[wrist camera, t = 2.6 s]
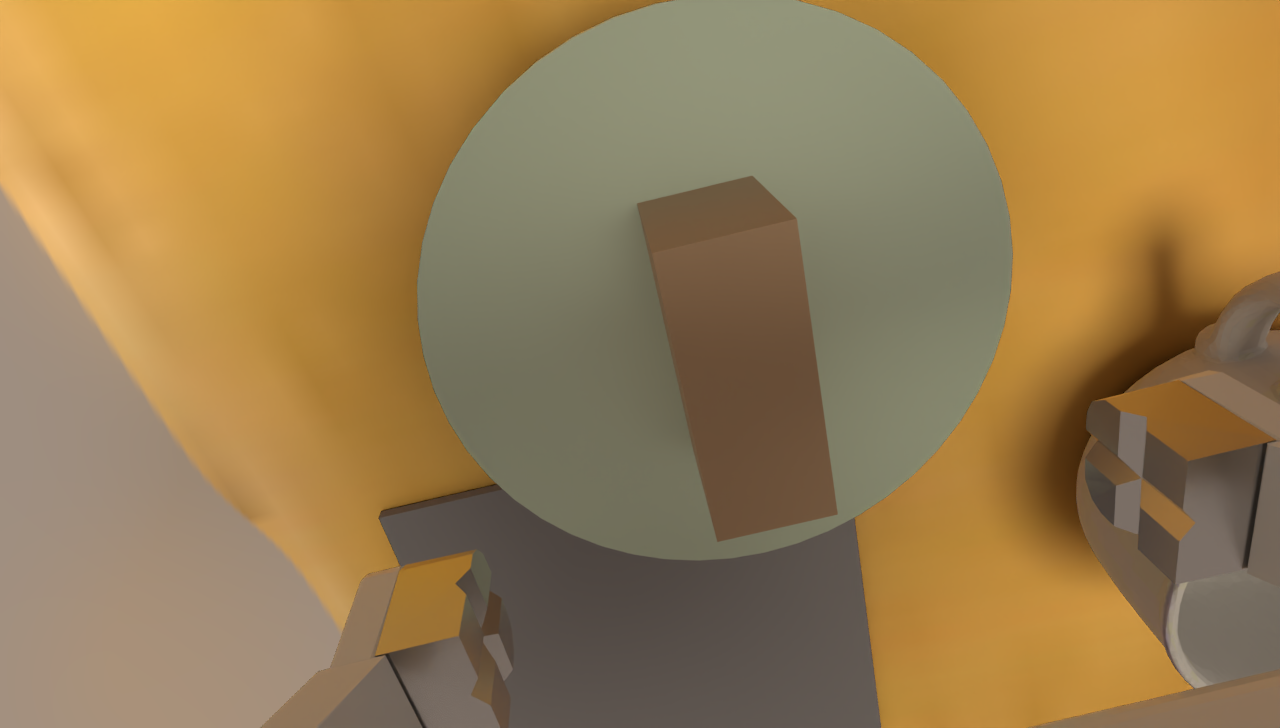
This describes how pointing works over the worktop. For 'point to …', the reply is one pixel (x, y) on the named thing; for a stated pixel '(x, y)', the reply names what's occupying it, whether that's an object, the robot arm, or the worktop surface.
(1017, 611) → the worktop surface
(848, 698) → the mat
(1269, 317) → the teacup
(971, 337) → the lid
